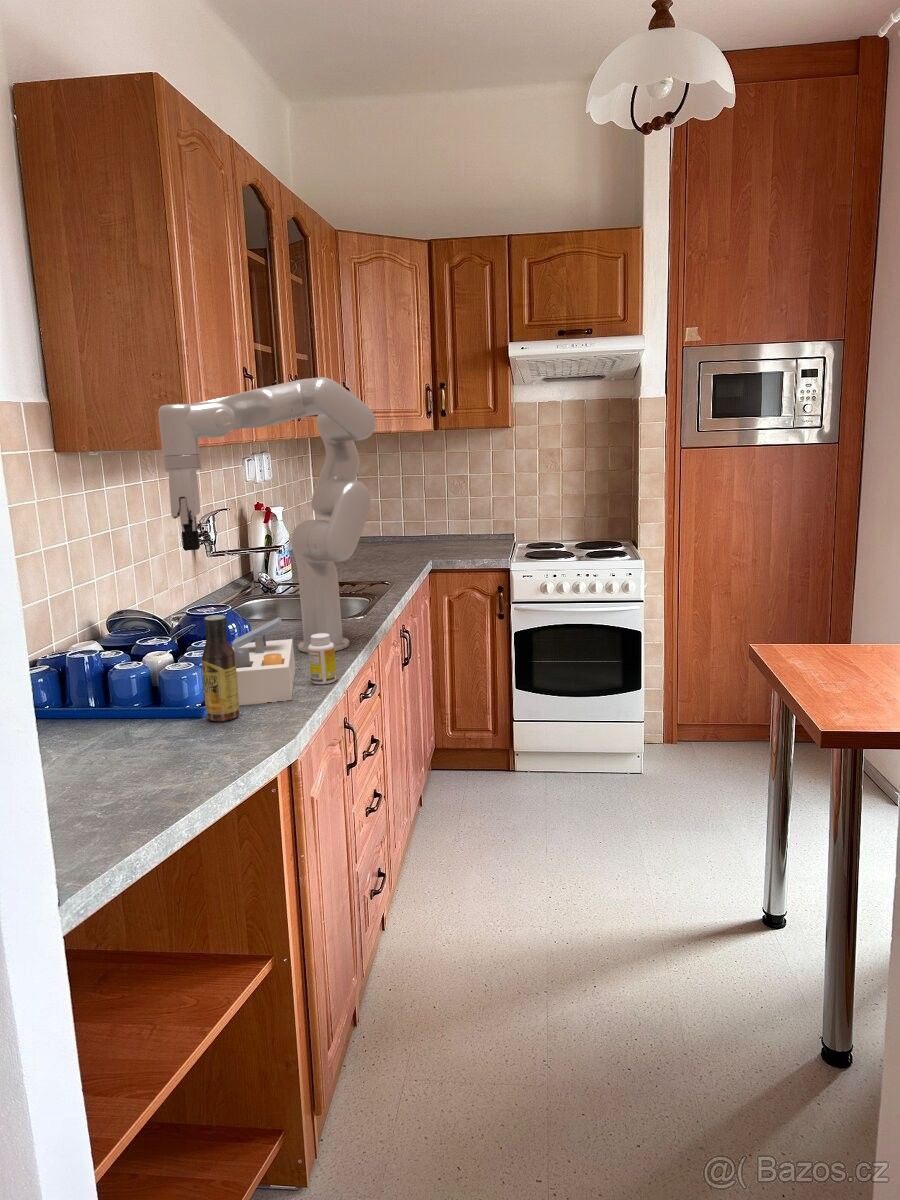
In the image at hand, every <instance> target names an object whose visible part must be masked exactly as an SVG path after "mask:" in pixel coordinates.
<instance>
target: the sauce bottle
mask: <svg viewBox="0 0 900 1200" xmlns="http://www.w3.org/2000/svg"><path fill="white" fill-rule="evenodd" d="M227 623H228V621H227V617H226V615H223V614H214V615H207V616H205V617H204V618H203V625H204V628H205V636H206V637H205V644H204V648H203V653H202V657H201V659H200V660H201V670H202V682H203V683H202V684H203V693H204V705H205V711H206V714H207V718H208V720H209V721H213V722H217V723H221V722H226V721H230V720H234V719H236V718H237V717H239V716H240V711H239V709H240V705H239V697H238V685H237V672H236V664H235V655H234V650H233V648H232V647H233V646H232V644H230V642H229V641H228V635H227V626H226V625H227Z"/></svg>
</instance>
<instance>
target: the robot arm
mask: <svg viewBox="0 0 900 1200" xmlns="http://www.w3.org/2000/svg"><path fill="white" fill-rule="evenodd" d="M157 414H158V425H159V433H160V441H161V450H162V459H163V467H164V472H165V473H168V488H169V490H168V491H169V502H170V513H171V514H170V515H171V516H170V517H171V518H172V519H174V520H176V519H178V518H180V526H181V537H182V538H181V539H182V546H183V550H184V551H198V550H199V549H200V548H201V546H200V545H201V543H200V537H199V536H200V535H199V534H200V533H199V530H198V520H197V517H198V515H199V514H200V513H201V501H200V500H201V499H200V490H199V482H198V474H197V471H200V470H202V463H201V461H202V460H201V453H200V444H199V443H200V442H199V439H215V438H217V439H218V438H222V437H225V436H227V435H228V434H230V433H232V431H234V430H241V429H256V428H257V429H258V428H264V427H270V426H274V425H278V424H282V423H286V422H289V421H294V420H299V419H301V418H306V417H311V416H317V418H316V429H317V431H318V432H317V433H318V434H319V436H320V438H321V441H322V443H323V445H324V449H325V459H324V464H323V466H322V469H321V472H320V474H319V477H318V480H317V482H316V485H315V488H314V489H313V494H312V497H311V509H312V510H313V511H314V513H315V514H316V515H318V516H320V517H323V518H327V519H329V520H326V519H325V520H323V519H308V520H304V521H301V522H299V523H298V524H297V525H296V526H295V527H294V529H293V530H292V534H291V538H290V539H291V540H290V541H291V548H292V553H293V557H294V559H295V564H296V569H297V577H298V585H299V586H298V587H299V588H298V589H299V599H300V609H301V621H302V622H301V624H302V634H303V641H300V642H299V643H298V644H297V648H298V650H299V651H300V652H303V653H307V654H308V646H309V645H310V644H312V643H311V636H312V635H314V634H318V633H327V634H329V636H330V642H332V643H333V644H334V650H335V652H338V651H340V650H344V649H347V648H348V647H349V646H350V639H348V638H346V637H343V636H344V635H343V626H342V625H343V624H342V616H341V615H342V613H341V612H342V611H341V602H340V601H341V599H340V588H339V586H340V585H339V576H338V570H337V567H336V565H335V562H336V563H339V562H344V561H347V560H349V558H351V556H352V555H353V554H354V553H355V551H356V549H357V547H358V545H359V541H360V538H361V536H362V533H363V531H364V527H365V525H366V522H367V519H368V516H369V513H370V510H371V504H372V502H371V500H372V499H371V493H370V490H369V489H368V487H367V486H366V485H365V484H364V483H363V481H360V480H357V476H358V473H359V470H360V464H361V463H360V455H359V451H358V449H357V447H356V444H355V441H363V440H366V439H368V438H370V437H371V436H372V434H373V433H374V431H375V428H376V424H377V423H376V417H375V415H374V413H373V411H372V409H371V408H370V407H369V405H367V404H366V403H365V402H363V401H362V400H361V399H360V398H358V397H357V396H356V395H355V394H353V393H352V392H350V391H349V390H348V389H346V388H345V387H344V386H342V385H341V384H340V383H338V382H337V381H335V380H334V379H331V378H329V377H324V376H321V377H311V378H303V379H297V380H291V381H287V382H283V383H279V384H274V385H269V386H263V387H260V388H259V387H258V388H255V389H250V390H247V391H243V392H240V393H235V394H231V395H228V396H222V397H218V398H213V399H207V400H204V401H200V402H199V401H198V402H194V403H190V404H189V403H172V404H163V405H161V406H160V407H159V409H158V411H157Z"/></svg>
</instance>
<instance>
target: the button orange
mask: <svg viewBox="0 0 900 1200" xmlns="http://www.w3.org/2000/svg"><path fill="white" fill-rule="evenodd" d="M263 657H264V666H267V665H279V664H282V656H281V654H279V653H272V654H267V655H264V656H263Z"/></svg>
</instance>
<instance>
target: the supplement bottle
mask: <svg viewBox="0 0 900 1200" xmlns="http://www.w3.org/2000/svg"><path fill="white" fill-rule="evenodd" d="M311 643H312V644H310V645H309V646H308V653H307V654H308V661H309V662H308V663H309V664H308V665H309V673H310V675H309V676H310V681H311V683H312V684H315V685H328V684H332V683H335V682H336V681H337V678H338V676H337V675H338V674H337V663H336V651H335V650H334V644H333V643H332V642H330V636H329V634H327V633H318V634H314V635H312V636H311Z"/></svg>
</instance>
